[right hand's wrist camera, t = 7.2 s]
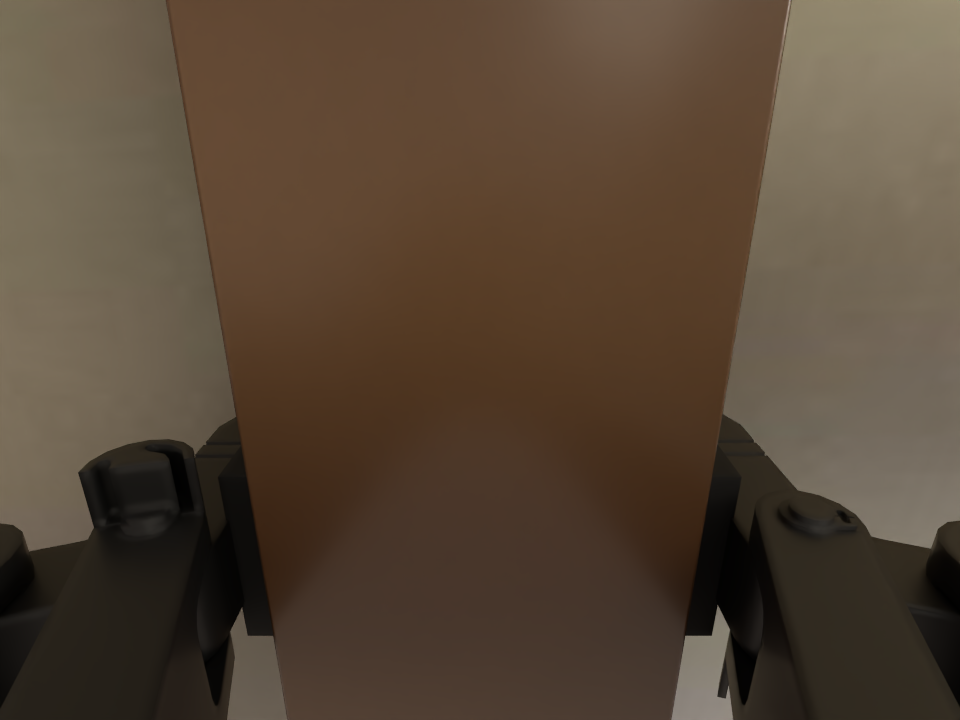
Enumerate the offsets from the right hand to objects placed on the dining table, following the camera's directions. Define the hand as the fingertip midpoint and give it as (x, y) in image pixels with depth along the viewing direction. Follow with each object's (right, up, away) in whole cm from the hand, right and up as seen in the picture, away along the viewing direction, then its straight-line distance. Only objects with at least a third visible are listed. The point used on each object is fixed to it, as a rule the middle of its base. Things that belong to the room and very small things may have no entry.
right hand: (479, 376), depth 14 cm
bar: (0, +19, -7) cm, 20 cm away
